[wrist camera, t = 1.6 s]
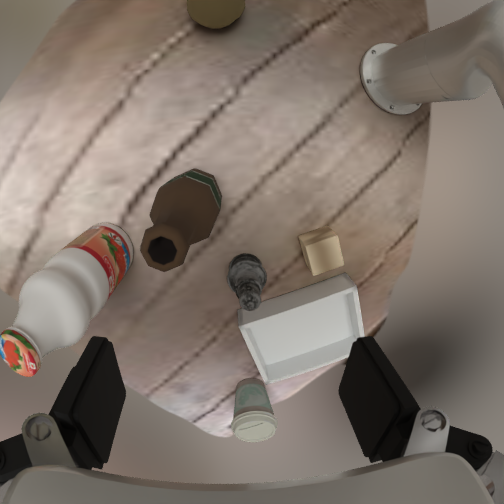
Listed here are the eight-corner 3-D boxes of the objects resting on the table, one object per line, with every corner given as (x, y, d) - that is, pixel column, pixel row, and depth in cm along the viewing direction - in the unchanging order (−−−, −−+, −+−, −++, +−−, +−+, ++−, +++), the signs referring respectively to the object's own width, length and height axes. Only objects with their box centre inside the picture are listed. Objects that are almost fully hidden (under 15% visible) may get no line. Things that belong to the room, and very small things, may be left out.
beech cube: (327, 225, 47) (337, 235, 42) (333, 253, 48) (344, 265, 44) (297, 235, 47) (305, 246, 42) (305, 263, 49) (313, 276, 44)
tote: (345, 272, 50) (356, 285, 45) (356, 334, 55) (366, 350, 50) (237, 309, 51) (238, 326, 46) (263, 367, 56) (265, 384, 51)
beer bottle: (169, 168, 41) (106, 200, 19) (222, 167, 42) (214, 196, 20) (171, 219, 44) (120, 298, 22) (222, 218, 45) (217, 299, 22)
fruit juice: (86, 216, 43) (-29, 299, 17) (138, 228, 44) (48, 334, 18) (83, 267, 46) (-8, 373, 20) (131, 281, 47) (63, 407, 21)
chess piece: (266, 253, 47) (278, 289, 36) (261, 286, 49) (270, 328, 38) (229, 250, 47) (229, 285, 35) (225, 283, 49) (225, 326, 38)
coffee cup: (274, 373, 57) (283, 418, 46) (267, 400, 60) (274, 443, 49) (231, 372, 56) (233, 418, 45) (228, 399, 59) (229, 443, 48)
